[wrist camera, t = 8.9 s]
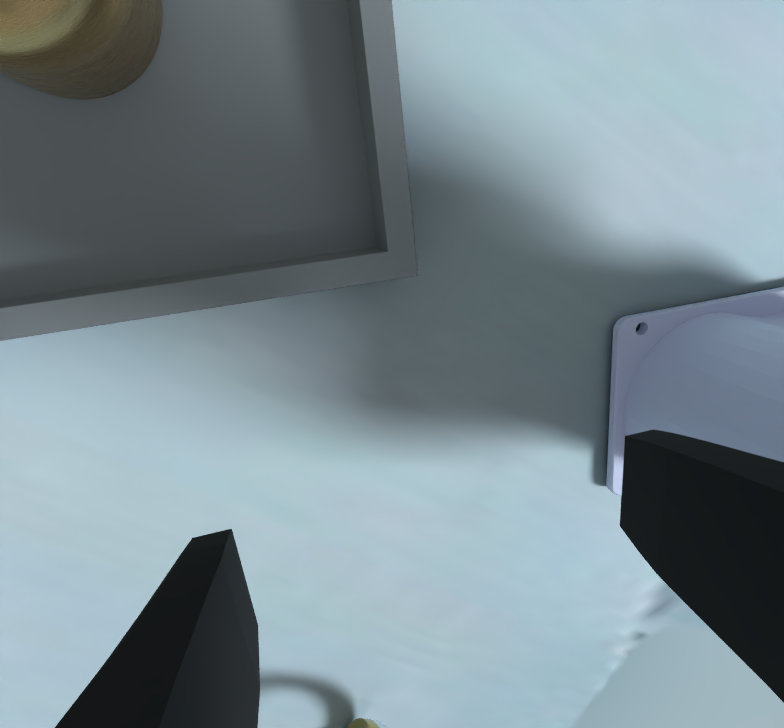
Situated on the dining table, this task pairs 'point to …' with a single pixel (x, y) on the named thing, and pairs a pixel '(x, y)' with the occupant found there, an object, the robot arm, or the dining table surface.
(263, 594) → the dining table surface
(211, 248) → the tray
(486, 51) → the dining table surface
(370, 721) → the ring
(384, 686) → the dining table surface
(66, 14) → the brass short cylinder
